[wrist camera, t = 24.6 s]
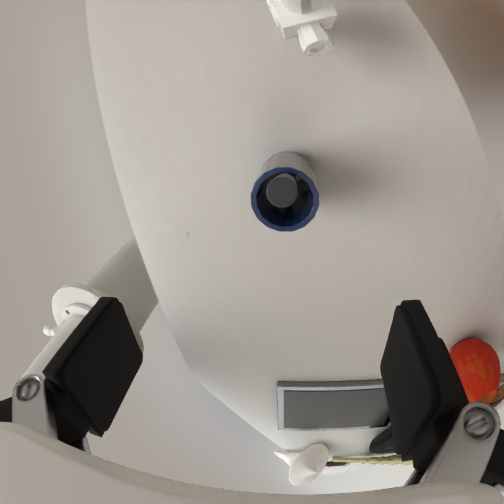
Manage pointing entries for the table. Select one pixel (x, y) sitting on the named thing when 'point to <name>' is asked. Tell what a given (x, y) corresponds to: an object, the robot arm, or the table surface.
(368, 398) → the tablet
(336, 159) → the table surface
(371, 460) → the wheat stalk
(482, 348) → the apple
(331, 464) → the pocket knife
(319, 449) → the white concave pointed part
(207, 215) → the table surface
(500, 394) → the bracelet
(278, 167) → the pen cup
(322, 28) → the toy robot
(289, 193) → the stylus
